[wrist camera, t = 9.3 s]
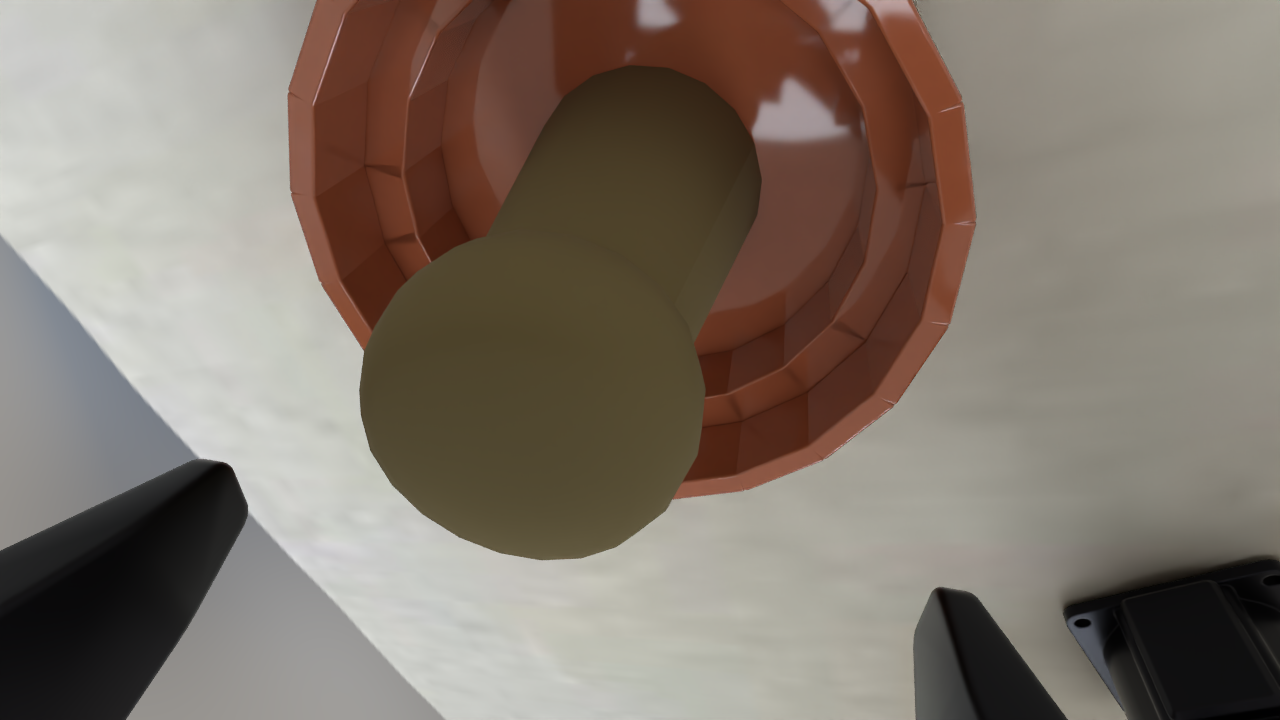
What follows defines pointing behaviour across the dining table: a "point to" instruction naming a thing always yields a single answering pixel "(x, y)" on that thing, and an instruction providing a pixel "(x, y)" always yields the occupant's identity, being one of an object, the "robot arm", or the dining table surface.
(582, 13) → the bowl
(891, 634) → the dining table surface
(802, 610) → the dining table surface
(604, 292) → the cork
